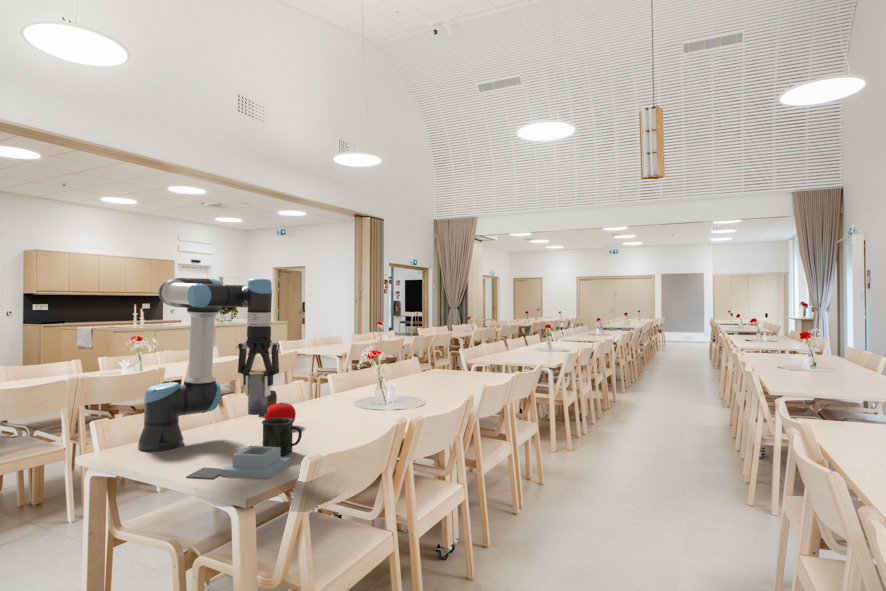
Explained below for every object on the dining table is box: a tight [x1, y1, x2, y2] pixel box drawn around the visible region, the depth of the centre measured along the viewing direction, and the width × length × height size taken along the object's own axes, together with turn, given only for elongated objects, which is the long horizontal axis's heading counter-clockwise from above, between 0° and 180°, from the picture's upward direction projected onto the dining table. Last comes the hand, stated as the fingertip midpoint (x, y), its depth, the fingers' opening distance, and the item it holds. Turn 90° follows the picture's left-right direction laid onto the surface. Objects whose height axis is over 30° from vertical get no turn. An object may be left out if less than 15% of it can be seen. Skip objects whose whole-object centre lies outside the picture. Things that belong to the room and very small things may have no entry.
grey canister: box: [247, 368, 268, 416], centre depth 170 cm, size 6×6×14 cm
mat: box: [185, 467, 222, 480], centre depth 164 cm, size 9×9×1 cm
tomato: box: [263, 401, 296, 421], centre depth 227 cm, size 12×13×11 cm
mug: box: [261, 418, 303, 457], centre depth 187 cm, size 11×15×12 cm
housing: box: [220, 445, 292, 480], centre depth 169 cm, size 16×16×6 cm
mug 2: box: [258, 390, 278, 417], centre depth 252 cm, size 9×12×12 cm
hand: (258, 395), depth 170 cm, fingers closed on grey canister, 6 cm apart
